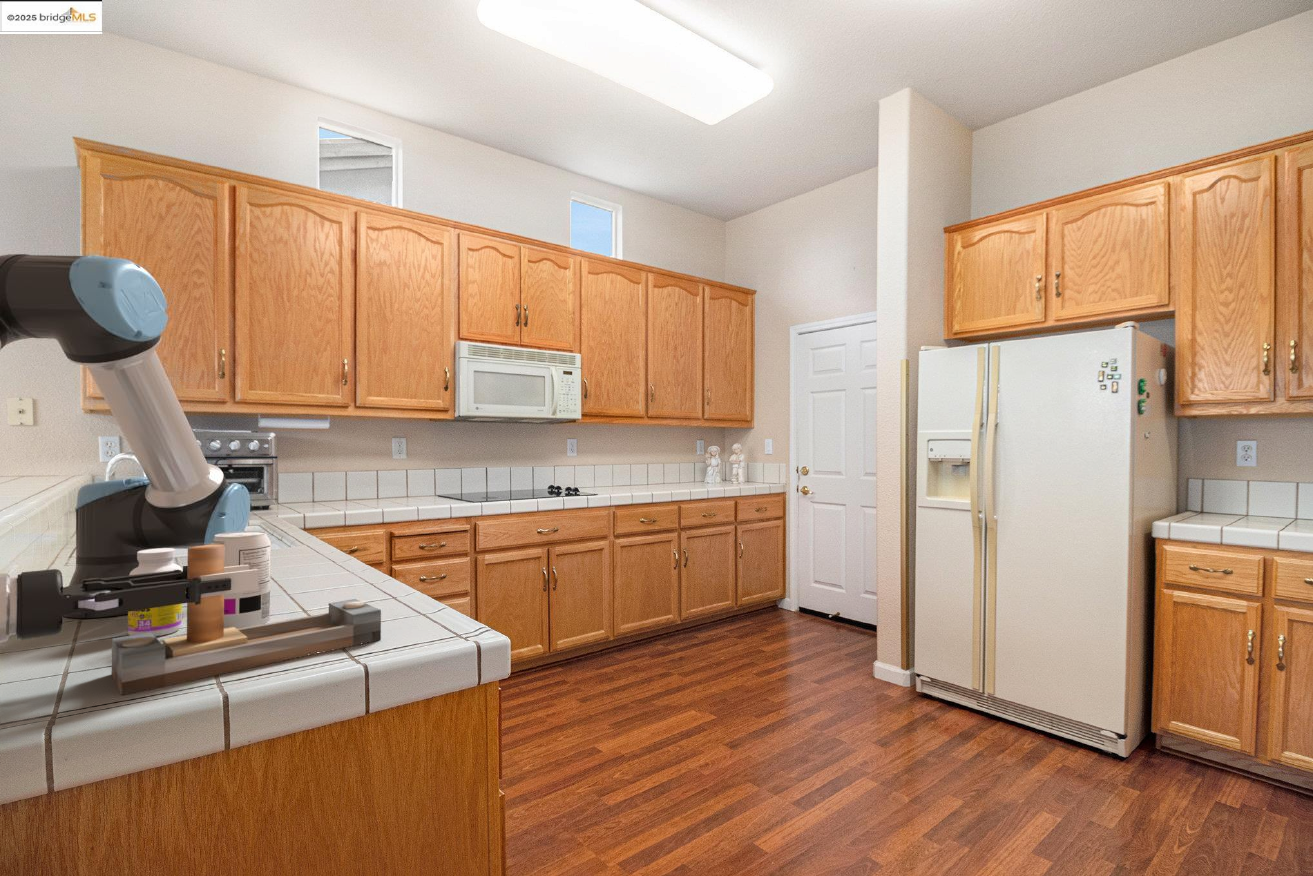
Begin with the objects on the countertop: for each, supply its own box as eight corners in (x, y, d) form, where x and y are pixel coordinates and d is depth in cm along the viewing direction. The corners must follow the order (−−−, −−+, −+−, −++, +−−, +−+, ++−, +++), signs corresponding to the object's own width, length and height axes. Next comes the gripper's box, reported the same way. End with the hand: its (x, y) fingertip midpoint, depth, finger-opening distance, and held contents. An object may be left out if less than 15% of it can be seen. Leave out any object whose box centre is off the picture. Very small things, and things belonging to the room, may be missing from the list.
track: (111, 674, 82) (112, 635, 82) (354, 627, 103) (355, 596, 103) (122, 695, 75) (122, 653, 75) (380, 640, 96) (380, 607, 96)
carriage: (162, 654, 84) (163, 547, 85) (233, 641, 90) (234, 541, 90) (172, 667, 79) (174, 553, 80) (247, 652, 85) (248, 546, 85)
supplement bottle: (117, 636, 98) (118, 552, 98) (164, 625, 104) (165, 546, 105) (145, 641, 96) (146, 554, 96) (191, 629, 102) (192, 548, 102)
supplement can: (205, 637, 98) (206, 538, 98) (213, 624, 105) (214, 532, 105) (267, 630, 101) (268, 535, 101) (271, 618, 109) (272, 529, 109)
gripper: (12, 625, 78) (236, 594, 95) (14, 657, 66) (271, 615, 83) (13, 563, 78) (237, 543, 95) (15, 584, 66) (271, 557, 83)
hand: (252, 576), depth 89 cm, fingers closed on carriage, 4 cm apart
